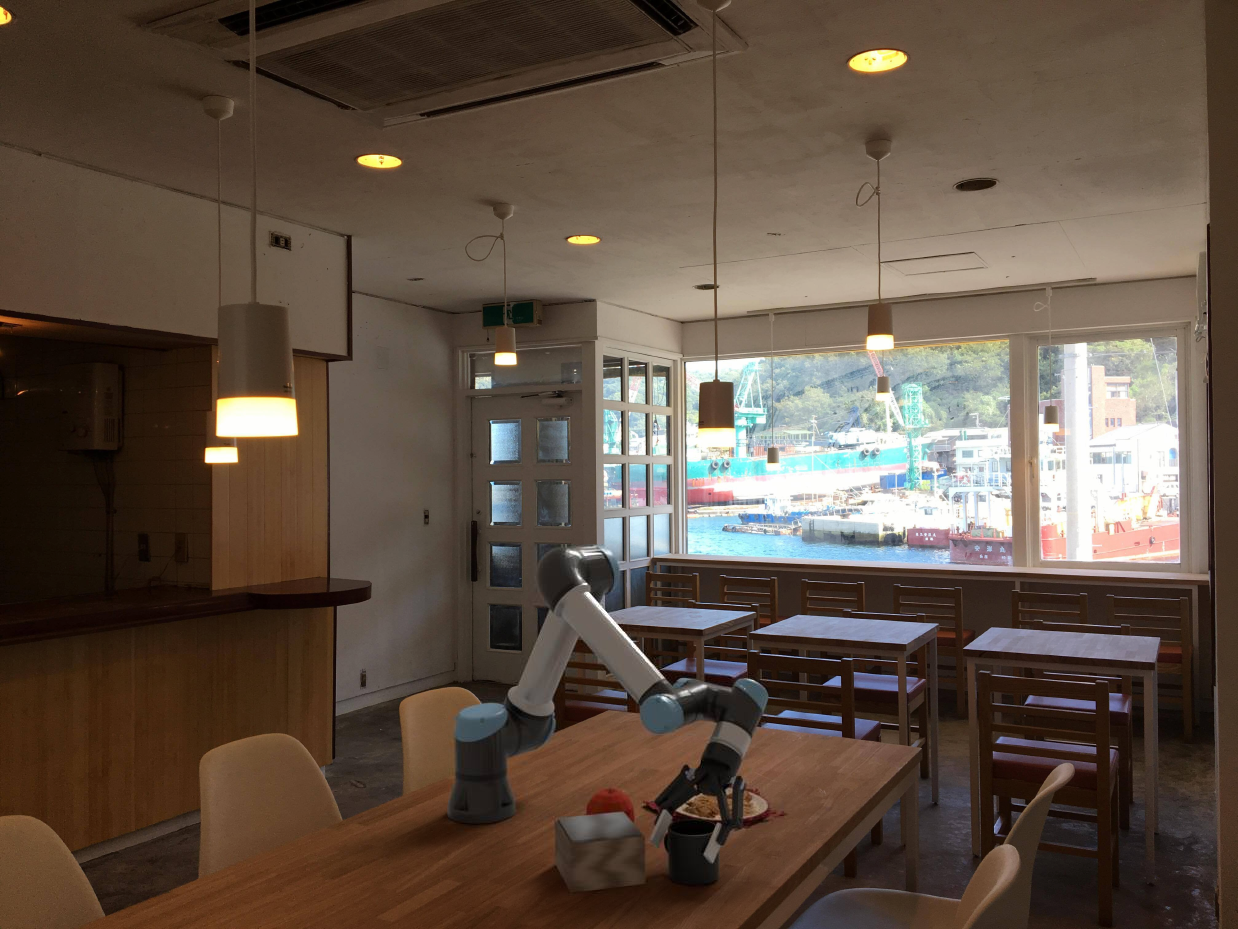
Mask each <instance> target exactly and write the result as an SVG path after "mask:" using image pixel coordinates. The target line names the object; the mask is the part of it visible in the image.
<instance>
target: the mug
mask: <svg viewBox="0 0 1238 929" xmlns="http://www.w3.org/2000/svg"><path fill="white" fill-rule="evenodd" d="M715 827H716V824H714V823H712V822H709V821H705V820H699V819H686V820H679V821H677V820H675V821H673V822H670V824H669V826H668V828H667V832H666V833H665V835H664V837H663V845H664V846H663V847H664V850H665V851H666V853H667V858H668V859H667V861H668V862H667V864H668V866H667V867H668V871H667V872H668V873H667V874H668V876H669V879H670V880H672V881H674V882H675V883H677V884H680V885H686V886H701V885H708V884H711V883H714V882H715V881H717V880H718V879H719V876H720V854H719V853H720V851H719V850H720V849H719V850H718V853H717V855H716V857H715V860H714V862H713V863H710V862H709V861H708V860H707V859H706V858H705V856H704V855H703V854H704V852H705V850H706V848H707V845H708V843H709V841H710V838H711V836H712V834H713V831H714V829H715Z"/></svg>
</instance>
